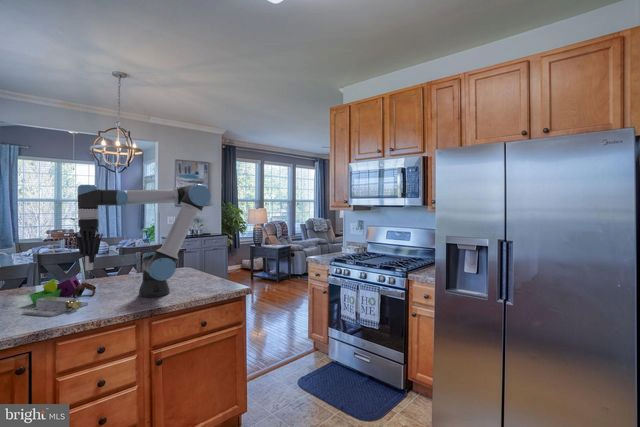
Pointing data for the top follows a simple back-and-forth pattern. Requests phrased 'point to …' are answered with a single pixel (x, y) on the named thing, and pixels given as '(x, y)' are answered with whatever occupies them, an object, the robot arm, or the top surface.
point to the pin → (74, 305)
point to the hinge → (52, 306)
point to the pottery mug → (81, 288)
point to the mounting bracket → (68, 286)
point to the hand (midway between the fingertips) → (89, 269)
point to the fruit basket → (46, 291)
